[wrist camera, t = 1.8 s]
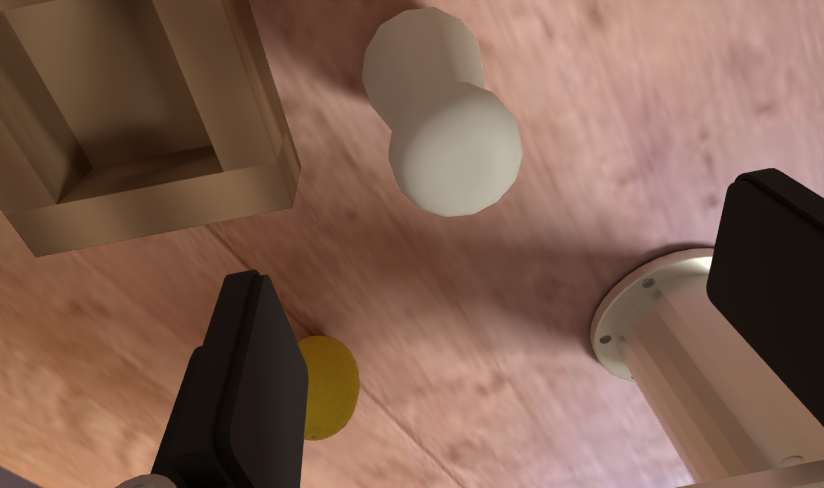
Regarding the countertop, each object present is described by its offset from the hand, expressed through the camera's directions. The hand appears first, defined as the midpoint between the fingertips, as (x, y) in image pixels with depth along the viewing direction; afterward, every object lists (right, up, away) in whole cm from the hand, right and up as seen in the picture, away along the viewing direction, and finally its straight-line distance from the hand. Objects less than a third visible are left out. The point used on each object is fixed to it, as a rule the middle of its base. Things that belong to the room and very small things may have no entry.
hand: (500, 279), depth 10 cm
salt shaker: (-2, +10, +16) cm, 19 cm away
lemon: (-8, -6, +26) cm, 28 cm away
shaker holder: (-16, +9, +15) cm, 23 cm away
